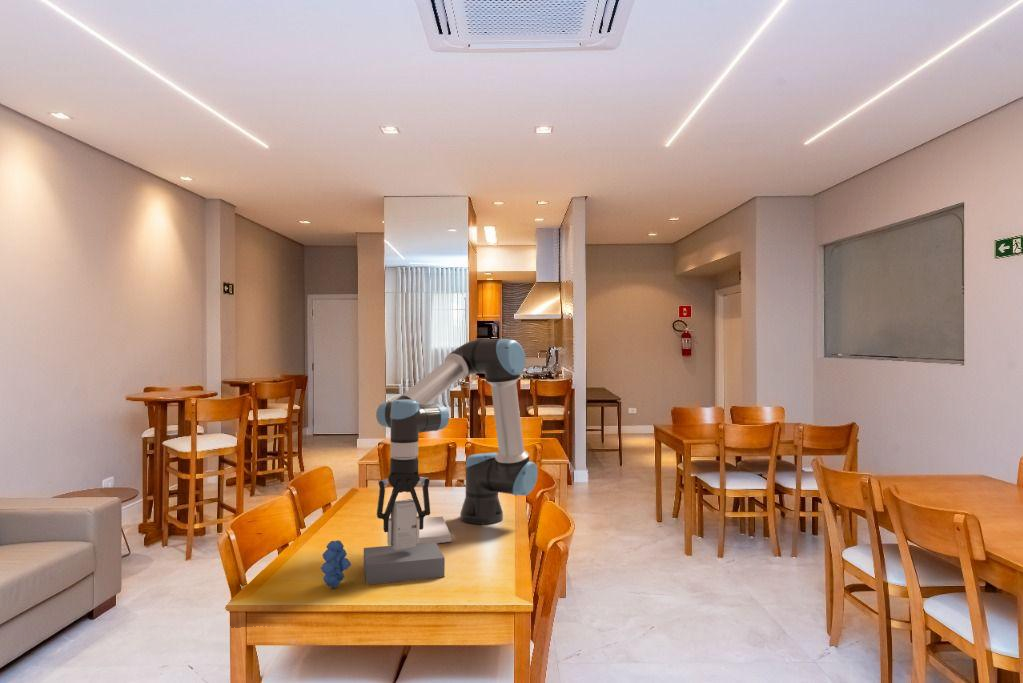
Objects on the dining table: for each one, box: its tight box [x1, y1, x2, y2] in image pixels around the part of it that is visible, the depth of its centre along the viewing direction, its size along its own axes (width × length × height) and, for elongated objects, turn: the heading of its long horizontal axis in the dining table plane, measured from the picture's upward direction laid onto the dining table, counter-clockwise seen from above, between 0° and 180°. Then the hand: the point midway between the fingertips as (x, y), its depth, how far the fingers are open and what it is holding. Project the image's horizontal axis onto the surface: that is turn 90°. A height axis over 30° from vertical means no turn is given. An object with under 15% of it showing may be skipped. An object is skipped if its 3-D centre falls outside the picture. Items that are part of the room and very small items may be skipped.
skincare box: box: [389, 498, 418, 550], centre depth 163 cm, size 6×4×12 cm
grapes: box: [320, 539, 352, 589], centre depth 151 cm, size 12×7×12 cm, turn 174°
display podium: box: [363, 542, 446, 585], centre depth 163 cm, size 20×14×5 cm
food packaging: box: [416, 516, 452, 545], centre depth 195 cm, size 15×3×20 cm
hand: (403, 542), depth 163 cm, fingers closed on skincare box, 7 cm apart
